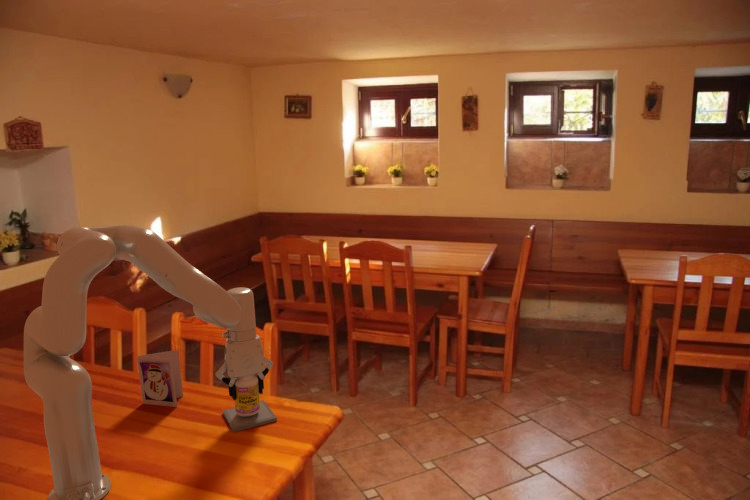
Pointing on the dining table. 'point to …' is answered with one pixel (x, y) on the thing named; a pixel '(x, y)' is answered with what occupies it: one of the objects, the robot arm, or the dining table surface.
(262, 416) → the slate trivet
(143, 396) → the greeting card
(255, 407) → the supplement bottle
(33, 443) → the dining table surface
